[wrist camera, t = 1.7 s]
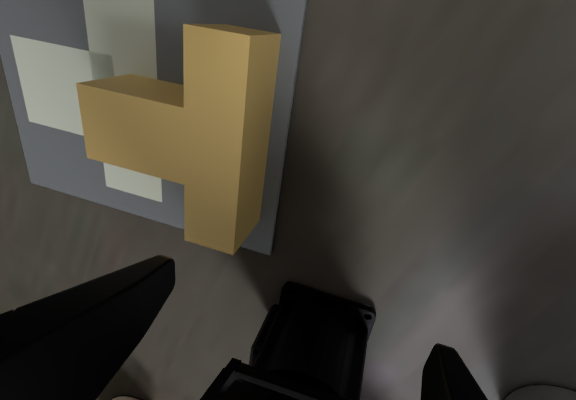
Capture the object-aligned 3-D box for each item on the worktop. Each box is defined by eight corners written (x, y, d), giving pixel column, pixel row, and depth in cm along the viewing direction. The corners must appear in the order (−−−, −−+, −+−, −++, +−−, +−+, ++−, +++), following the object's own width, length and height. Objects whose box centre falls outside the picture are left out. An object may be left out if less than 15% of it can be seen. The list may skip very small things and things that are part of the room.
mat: (310, -22, 16) (309, -23, 16) (271, 253, 24) (269, 255, 24) (-24, -68, 20) (-30, -70, 20) (34, 181, 28) (31, 182, 27)
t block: (281, 33, 17) (250, 35, 14) (259, 220, 23) (233, 255, 19) (125, 7, 19) (63, 2, 16) (139, 185, 24) (95, 212, 21)
